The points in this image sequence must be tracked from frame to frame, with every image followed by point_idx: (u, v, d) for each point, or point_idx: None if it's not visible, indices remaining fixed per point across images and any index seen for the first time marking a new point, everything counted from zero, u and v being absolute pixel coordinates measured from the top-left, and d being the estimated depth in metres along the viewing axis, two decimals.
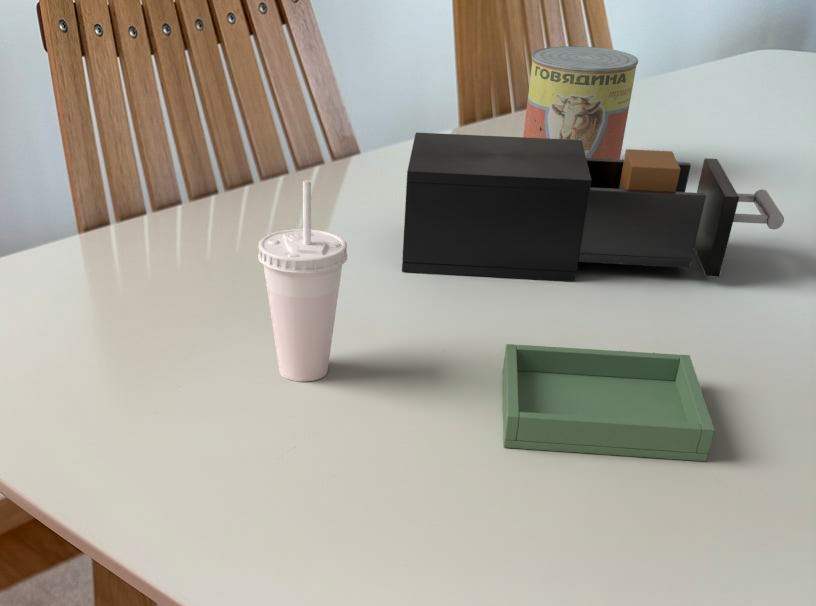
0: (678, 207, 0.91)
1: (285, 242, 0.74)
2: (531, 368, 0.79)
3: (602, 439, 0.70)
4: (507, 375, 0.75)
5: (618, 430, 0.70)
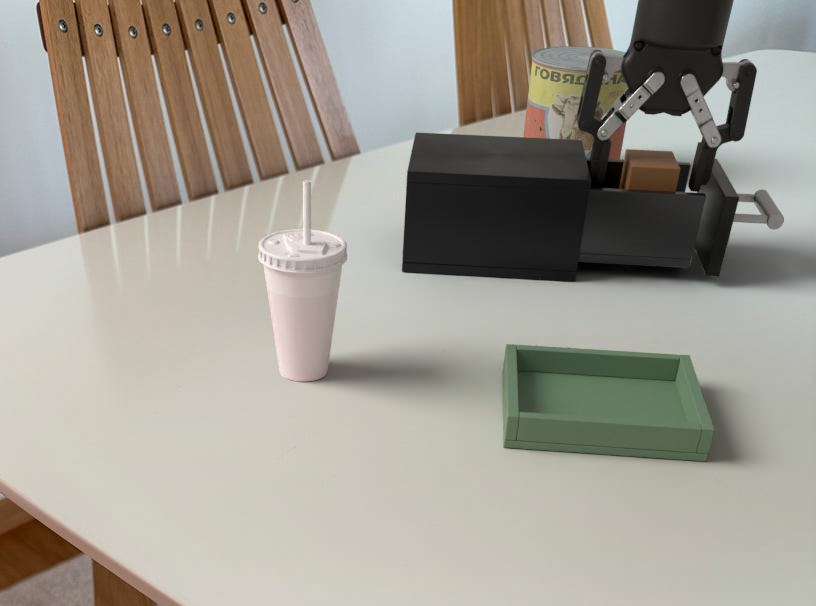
0: (678, 207, 0.91)
1: (285, 242, 0.74)
2: (531, 368, 0.79)
3: (602, 439, 0.70)
4: (507, 375, 0.75)
5: (618, 430, 0.70)
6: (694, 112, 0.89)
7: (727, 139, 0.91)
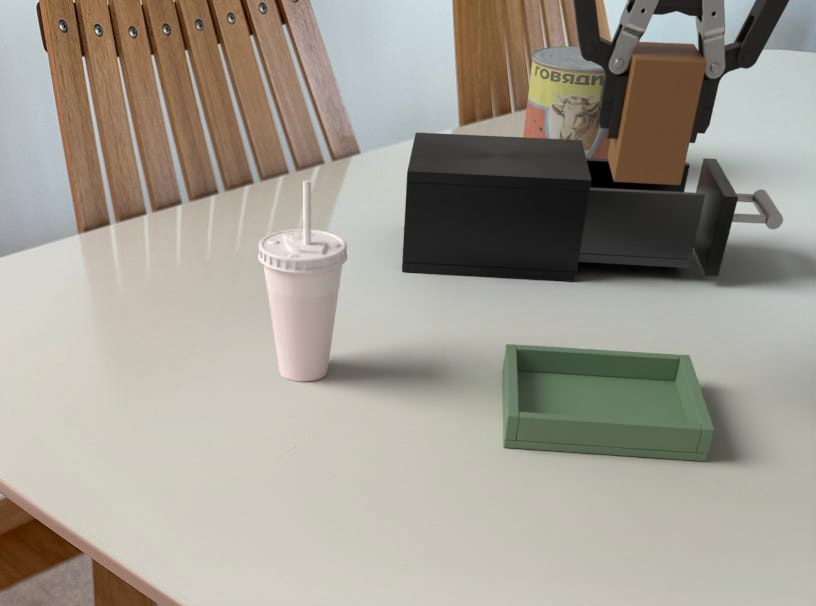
0: (677, 207, 0.91)
1: (285, 242, 0.74)
2: (531, 368, 0.79)
3: (602, 439, 0.70)
4: (507, 375, 0.75)
5: (618, 430, 0.70)
6: (704, 13, 0.61)
7: (734, 66, 0.64)
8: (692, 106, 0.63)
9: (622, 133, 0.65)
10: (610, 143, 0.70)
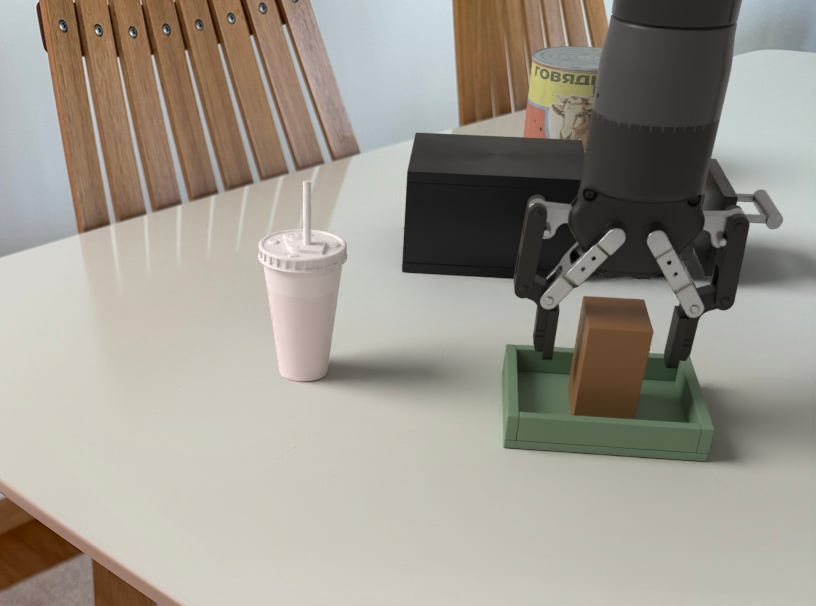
0: None
1: (285, 242, 0.74)
2: (531, 368, 0.79)
3: (602, 439, 0.70)
4: (507, 375, 0.75)
5: (618, 430, 0.70)
6: (667, 276, 0.67)
7: (712, 307, 0.69)
8: (641, 366, 0.70)
9: (578, 385, 0.71)
10: (570, 378, 0.76)
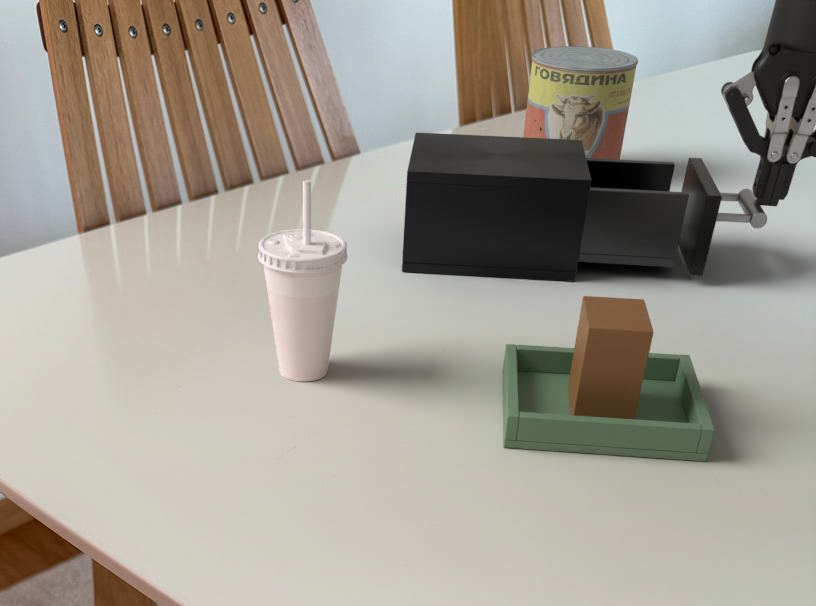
0: (661, 206, 0.91)
1: (285, 242, 0.74)
2: (531, 368, 0.79)
3: (602, 439, 0.70)
4: (507, 375, 0.75)
5: (618, 430, 0.70)
6: (804, 117, 0.88)
7: (807, 154, 0.91)
8: (641, 366, 0.70)
9: (578, 385, 0.71)
10: (570, 378, 0.76)
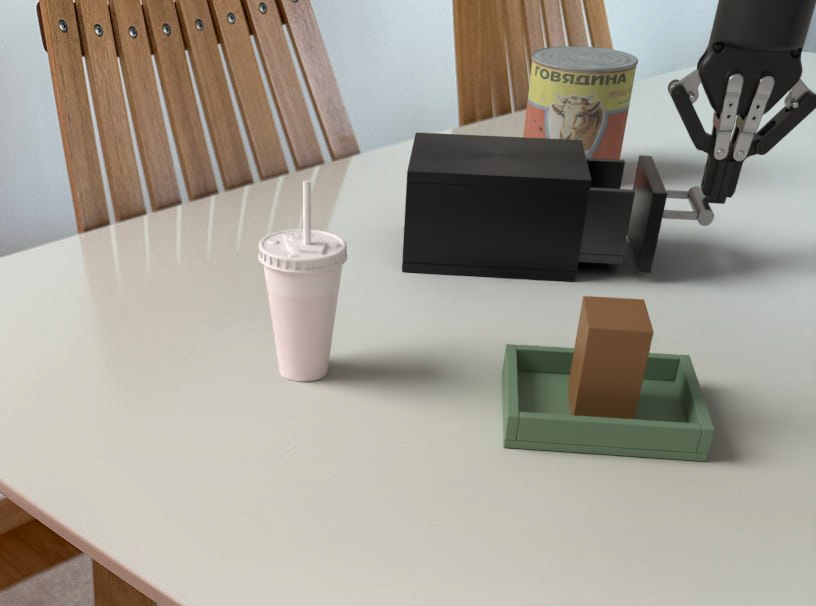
0: (608, 203, 0.92)
1: (285, 242, 0.74)
2: (531, 368, 0.79)
3: (602, 439, 0.70)
4: (507, 375, 0.75)
5: (618, 430, 0.70)
6: (748, 115, 0.89)
7: (753, 152, 0.91)
8: (641, 366, 0.70)
9: (578, 385, 0.71)
10: (570, 378, 0.76)
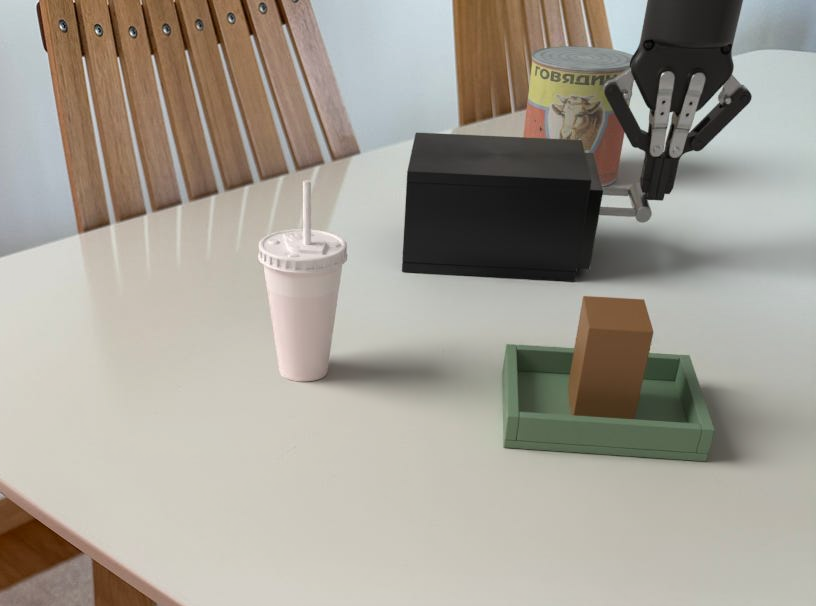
0: None
1: (285, 242, 0.74)
2: (531, 368, 0.79)
3: (602, 439, 0.70)
4: (507, 375, 0.75)
5: (618, 430, 0.70)
6: (682, 112, 0.89)
7: (689, 149, 0.92)
8: (641, 366, 0.70)
9: (578, 385, 0.71)
10: (570, 378, 0.76)
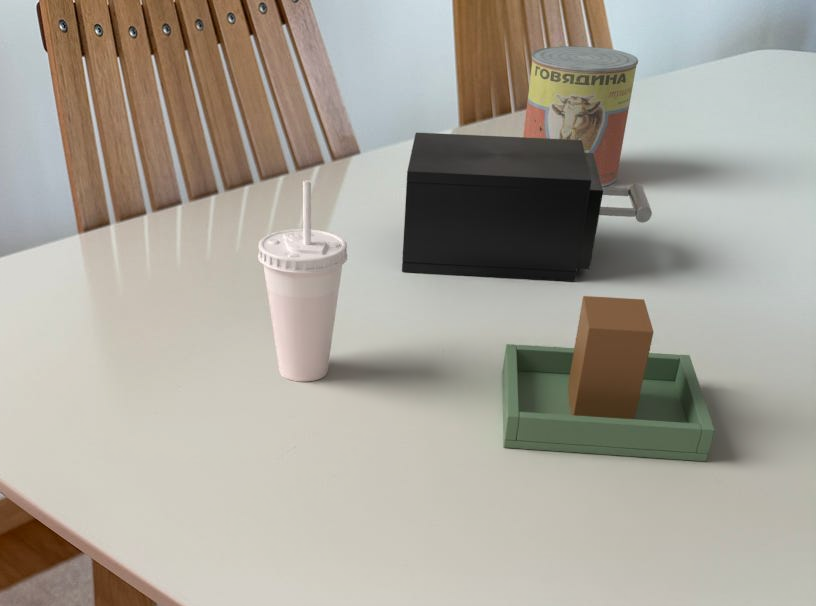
0: None
1: (285, 242, 0.74)
2: (531, 368, 0.79)
3: (602, 439, 0.70)
4: (507, 375, 0.75)
5: (618, 430, 0.70)
6: None
7: None
8: (641, 366, 0.70)
9: (578, 385, 0.71)
10: (570, 378, 0.76)
